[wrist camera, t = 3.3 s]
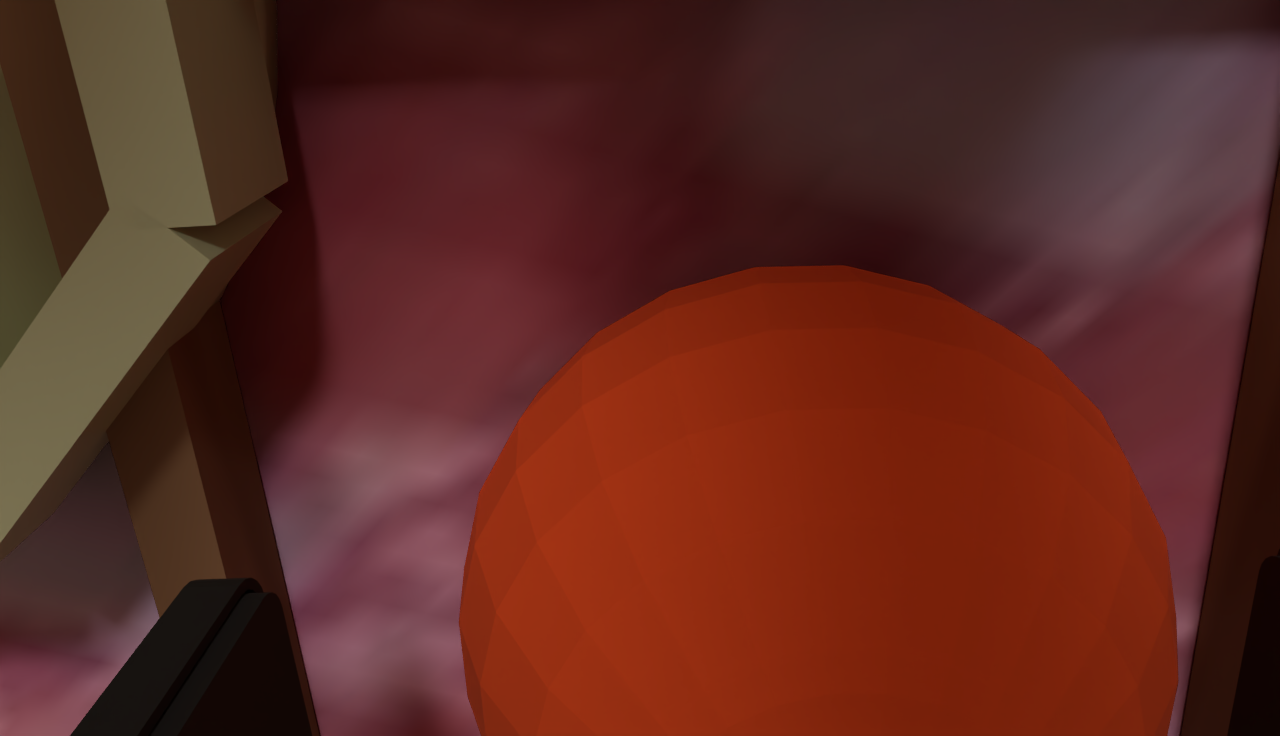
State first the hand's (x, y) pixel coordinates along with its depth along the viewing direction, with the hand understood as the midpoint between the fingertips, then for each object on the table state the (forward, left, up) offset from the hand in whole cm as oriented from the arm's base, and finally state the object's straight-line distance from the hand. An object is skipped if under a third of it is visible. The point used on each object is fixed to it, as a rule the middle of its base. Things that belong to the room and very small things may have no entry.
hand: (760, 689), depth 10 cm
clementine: (0, 0, -5) cm, 5 cm away
